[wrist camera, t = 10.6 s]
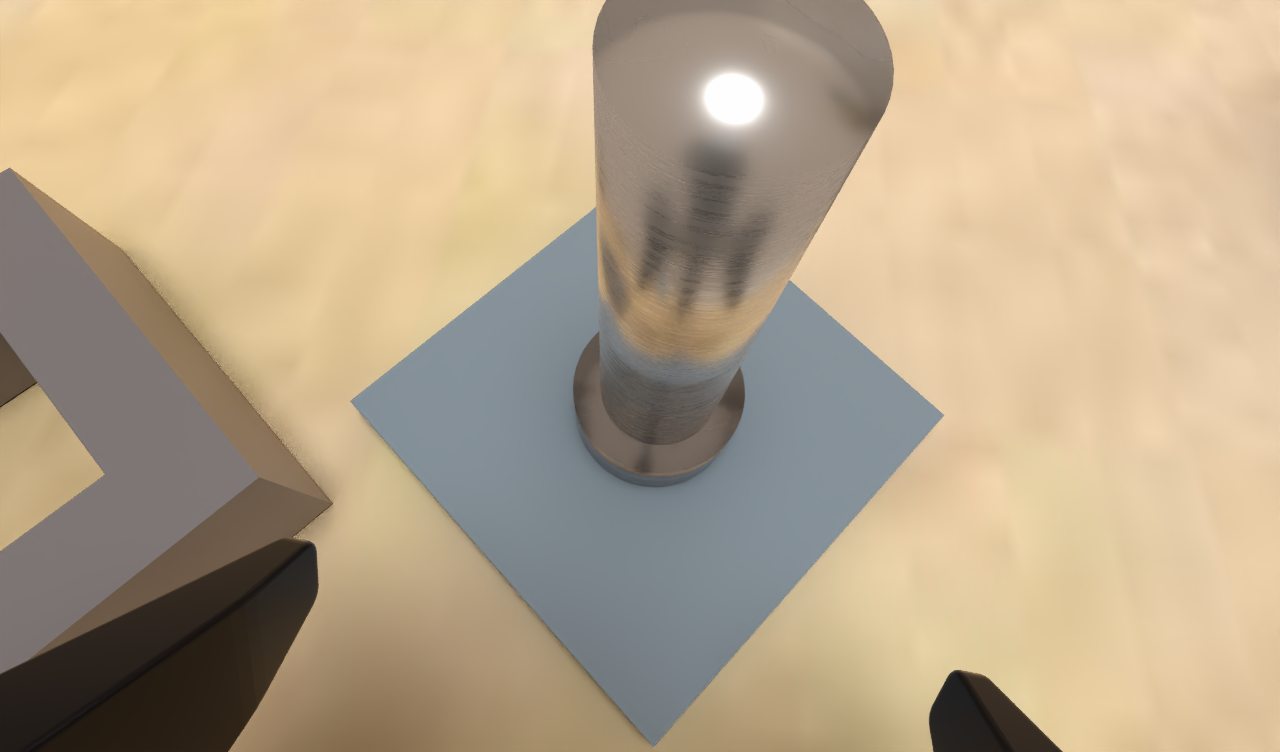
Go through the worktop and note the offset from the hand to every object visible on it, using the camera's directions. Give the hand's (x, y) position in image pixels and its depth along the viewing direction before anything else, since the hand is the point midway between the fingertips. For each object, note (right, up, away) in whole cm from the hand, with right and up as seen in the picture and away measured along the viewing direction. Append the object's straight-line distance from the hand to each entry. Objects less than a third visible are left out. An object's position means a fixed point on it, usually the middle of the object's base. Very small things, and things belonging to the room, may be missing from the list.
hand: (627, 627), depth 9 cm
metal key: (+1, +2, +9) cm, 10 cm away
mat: (+1, +2, +10) cm, 10 cm away
